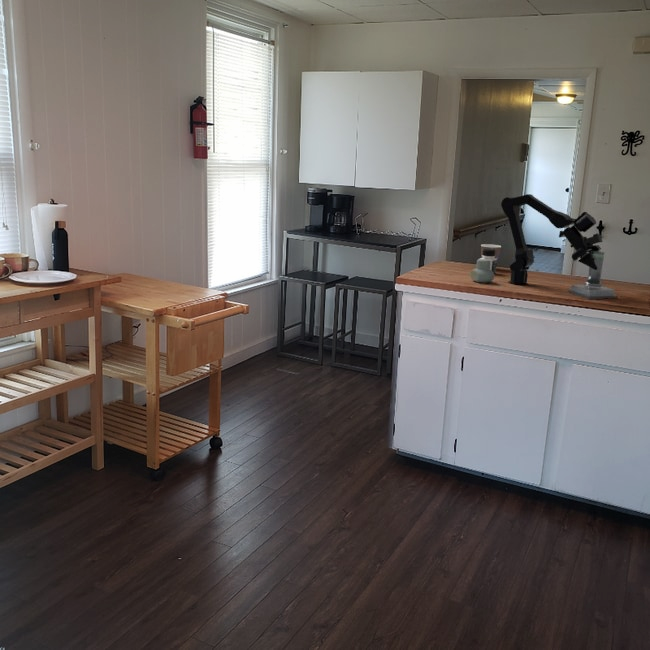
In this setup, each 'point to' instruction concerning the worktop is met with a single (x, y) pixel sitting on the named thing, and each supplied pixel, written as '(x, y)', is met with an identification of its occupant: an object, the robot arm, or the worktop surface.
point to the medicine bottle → (490, 258)
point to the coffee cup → (490, 246)
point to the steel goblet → (593, 274)
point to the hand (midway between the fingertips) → (598, 268)
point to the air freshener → (482, 272)
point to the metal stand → (592, 292)
